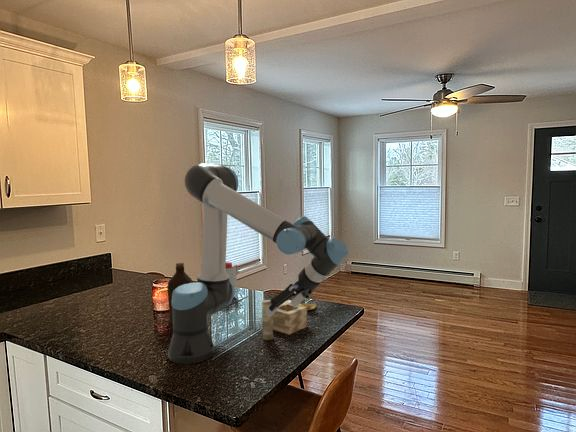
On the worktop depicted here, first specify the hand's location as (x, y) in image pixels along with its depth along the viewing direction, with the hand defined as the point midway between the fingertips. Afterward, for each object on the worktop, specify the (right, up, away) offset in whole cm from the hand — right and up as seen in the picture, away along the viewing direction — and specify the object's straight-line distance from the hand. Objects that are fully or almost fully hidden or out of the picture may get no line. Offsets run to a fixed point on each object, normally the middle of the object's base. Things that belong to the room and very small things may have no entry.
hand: (280, 309), depth 140 cm
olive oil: (-42, -11, +23) cm, 49 cm away
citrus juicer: (-30, -8, +58) cm, 66 cm away
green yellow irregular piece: (+10, -9, +38) cm, 41 cm away
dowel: (-5, -12, +5) cm, 14 cm away
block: (+3, -11, +15) cm, 19 cm away
